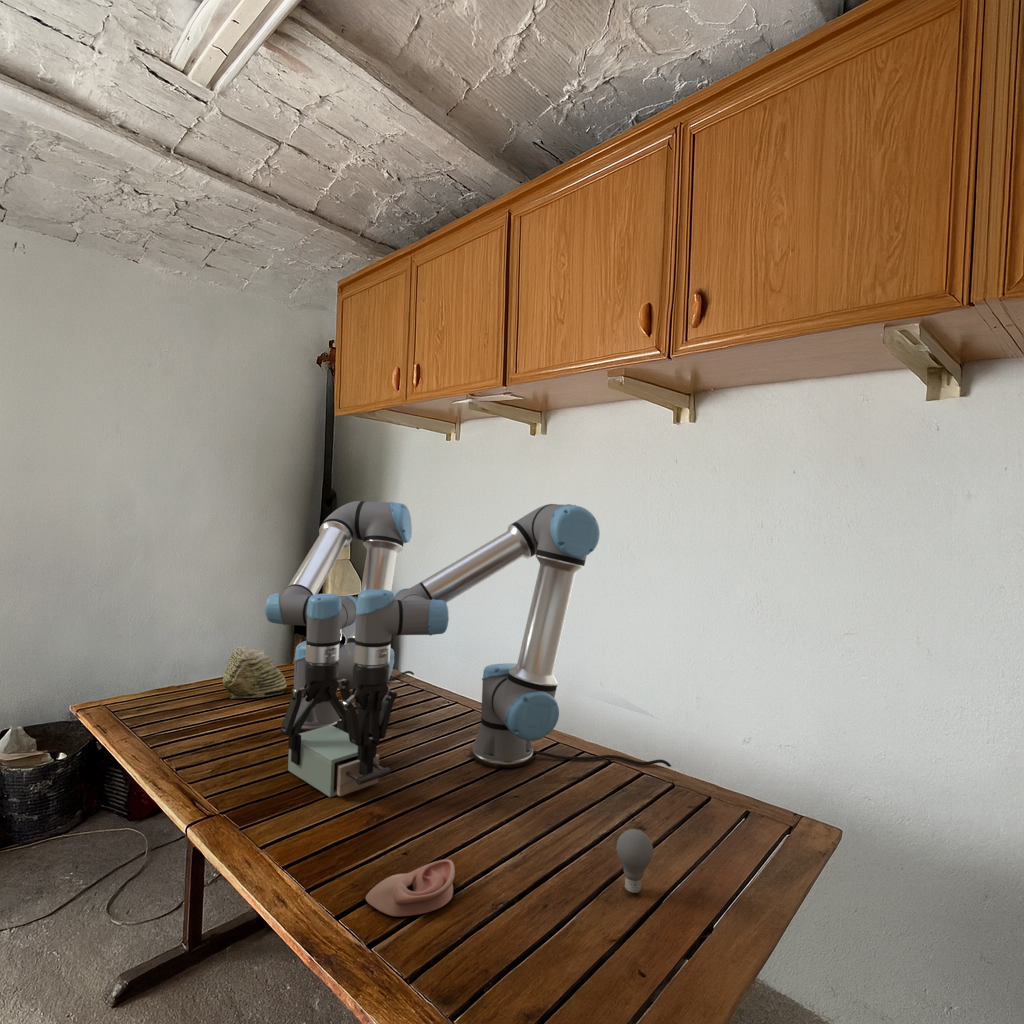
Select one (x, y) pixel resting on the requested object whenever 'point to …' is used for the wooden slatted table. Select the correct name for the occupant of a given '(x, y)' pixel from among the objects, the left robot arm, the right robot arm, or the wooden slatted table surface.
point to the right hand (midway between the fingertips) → (365, 774)
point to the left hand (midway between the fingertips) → (318, 755)
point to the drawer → (356, 775)
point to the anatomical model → (414, 890)
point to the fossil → (252, 674)
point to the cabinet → (322, 757)
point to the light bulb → (634, 857)
